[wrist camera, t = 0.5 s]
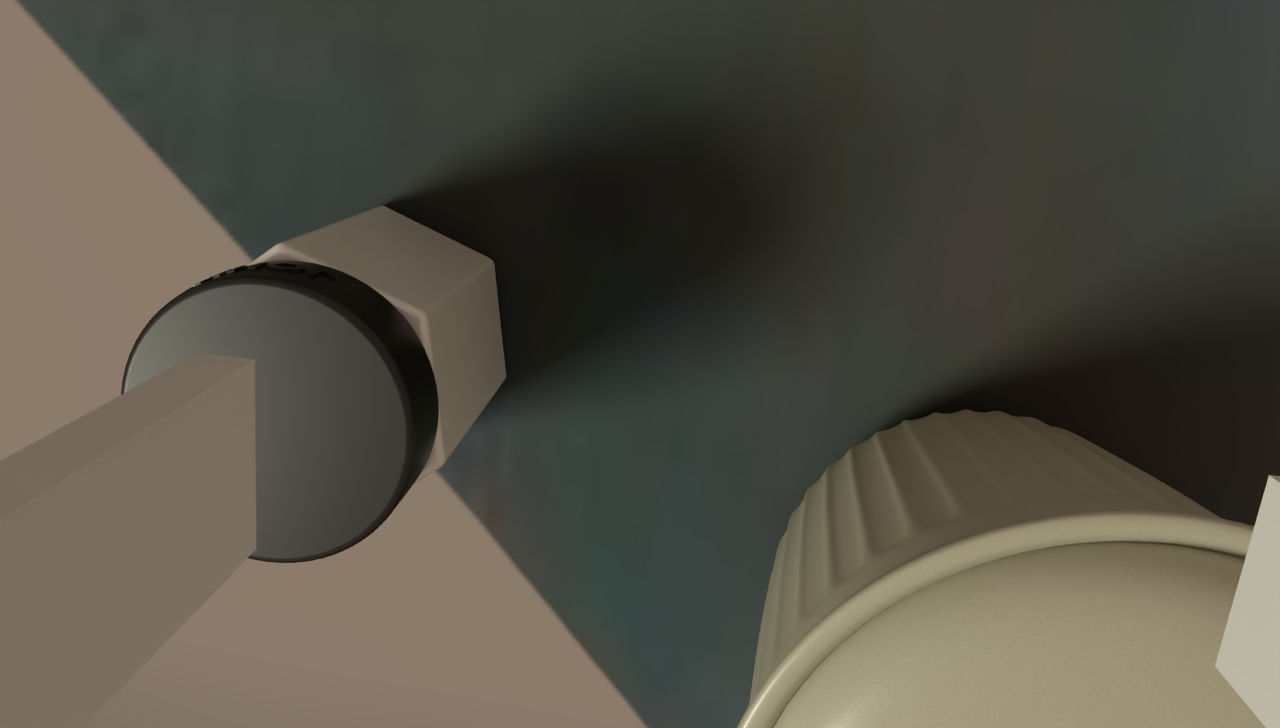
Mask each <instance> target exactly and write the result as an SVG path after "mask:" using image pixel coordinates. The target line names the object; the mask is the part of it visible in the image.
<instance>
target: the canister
mask: <svg viewBox="0 0 1280 728" xmlns="http://www.w3.org/2000/svg"><path fill="white" fill-rule="evenodd" d="M1253 530H1254V526H1251V525H1247V524H1243V523H1239V522H1235V521H1230V520H1226V519H1222V518H1220V517H1219V516H1217V515H1215V514H1214V513H1212V512H1210V511H1209V510H1207V509H1206V508H1204V507H1202V506H1201V505H1199V504H1197V503H1196V502H1194V501H1193V500H1191V499H1189V498H1188V497H1186V496H1185V495H1183V494H1181V493H1180V492H1178V491H1176V490H1175V489H1173V488H1171V487H1170V486H1168V485H1166V484H1164V483H1163V482H1161V481H1159V480H1158V479H1156V478H1154V477H1153V476H1151V475H1149V474H1147V473H1146V472H1144V471H1142V470H1140V469H1138V468H1137V467H1135V466H1133V465H1131V464H1129V463H1127V462H1126V461H1124V460H1122V459H1120V458H1118V457H1117V456H1115V455H1113V454H1111V453H1109V452H1108V451H1106V450H1104V449H1102V448H1100V447H1098V446H1097V445H1095V444H1093V443H1091V442H1089V441H1087V440H1086V439H1084V438H1082V437H1080V436H1078V435H1076V434H1074V433H1072V432H1070V431H1068V430H1066V429H1062V428H1059V427H1051V426H1049V425H1047V424H1045V423H1043V422H1042V421H1040V420H1037V419H1035V418H1032V417H1016V416H1011V415H1009V414H1007V413H1004V412H1001V411H991V412H974V411H971V410H967V409H966V410H961V411H959V412H955V413H949V414H941V413H932V414H930V415H929V416H926V417H923V418H919V419H915V420H904V421H902V422H901V423H900V424H899V425H897V426H895V427H893V428H890V429H887V430H884V431H877V432H876V433H875V434H874V435H873V436H872V437H870V438H869V439H867V440H866V441H864V442H862V443H860V444H858V445H856V446H852V447H851V448H850V449H849V450H848V452H847V453H846V454H845V455H844V456H843V457H842V458H841V459H839V460H838V461H836V462H835V463H832V464H830V465H829V466H828V467H827V468H826V470H825V472H824V474H823V475H822V476H821V478H820V479H819V480H818V481H817V482H816V483H814V484H812V485H811V486H810V487H809V488H808V489H807V492H806V494H805V498H804V500H803V501H802V503H801V504H800V506H798V507H797V508H796V509H795V510H794V511H793V513H792V515H791V517H790V520H789V524H788V529H787V531H786V533H785V534H784V535H783V537H782V538H781V541H780V543H779V546H778V549H777V553H776V558H775V563H774V568H773V571H772V574H771V578H770V583H769V587H768V592H767V597H766V602H765V607H764V612H763V618H762V623H761V628H760V635H759V641H758V647H757V654H756V661H755V668H754V675H753V683H752V690H751V696H750V703H749V707H748V708H747V710H746V712H745V714H744V715H743V717H742V719H741V721H740V723H739V725H738V727H737V728H1266V727H1265V726H1264V725H1263V724H1262V722H1261V721H1260V720H1259V719H1258V718H1257V716H1256V715H1255V714H1254V713H1253V712H1252V710H1251V709H1250V708H1249V707H1248V705H1247V704H1246V703H1245V702H1244V701H1243V699H1242V698H1241V697H1240V696H1239V695H1238V693H1237V692H1236V691H1235V690H1234V689H1233V687H1232V686H1231V685H1230V684H1229V683H1228V681H1227V680H1226V679H1225V678H1224V676H1223V675H1222V674H1221V673H1220V672H1219V670H1218V669H1217V668H1216V667H1215V664H1216V660H1217V657H1218V653H1219V650H1220V646H1221V643H1222V639H1223V635H1224V632H1225V628H1226V625H1227V621H1228V618H1229V614H1230V611H1231V607H1232V604H1233V600H1234V597H1235V593H1236V590H1237V586H1238V583H1239V579H1240V576H1241V572H1242V568H1243V565H1244V561H1245V558H1246V554H1247V551H1248V547H1249V544H1250V540H1251V537H1252V533H1253Z"/></svg>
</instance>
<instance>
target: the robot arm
mask: <svg viewBox="0 0 1280 728" xmlns="http://www.w3.org/2000/svg"><path fill="white" fill-rule="evenodd" d="M255 550H256V452H255V359H247V358H238V357H229V356H220V355H212V354H203V353H197V354H195V355H194V356H192V357H190V358H188V359H186V360H184V361H183V362H181V363H179V364H177V365H175V366H173V367H172V368H170V369H168V370H166V371H164V372H162V373H161V374H159V375H157V376H155V377H153V378H151V379H150V380H148V381H146V382H144V383H142V384H140V385H139V386H137V387H135V388H133V389H131V390H130V391H128V392H126V393H124V394H122V395H121V396H119V397H117V398H115V399H113V400H111V401H109V402H108V403H106V404H104V405H102V406H100V407H98V408H97V409H95V410H93V411H91V412H89V413H87V414H86V415H84V416H82V417H80V418H79V419H76V420H75V421H73V422H71V423H69V424H67V425H65V426H64V427H62V428H60V429H58V430H56V431H55V432H53V433H51V434H49V435H47V436H45V437H44V438H42V439H40V440H38V441H36V442H34V443H33V444H31V445H29V446H27V447H25V448H24V449H22V450H20V451H18V452H16V453H14V454H13V455H11V456H9V457H7V458H5V459H3V460H1V461H0V728H84V727H85V726H86V725H87V724H88V723H89V722H90V720H92V719H93V718H94V717H95V716H96V715H97V714H98V713H99V712H100V710H101V709H102V708H103V707H104V706H105V705H106V704H107V703H108V702H109V701H110V700H111V699H112V698H113V697H114V696H115V695H116V694H117V693H118V692H119V691H120V690H121V689H122V688H123V687H124V686H125V685H126V683H127V682H128V681H129V680H130V679H131V678H132V677H133V676H134V675H135V674H136V673H137V672H138V671H139V670H140V669H141V668H142V667H143V666H144V665H145V664H146V663H147V662H148V661H149V660H150V659H151V658H152V657H153V655H154V654H155V653H156V652H157V651H158V650H159V649H160V648H161V647H162V646H163V645H164V644H165V643H166V642H167V641H168V640H169V639H170V638H171V637H172V635H174V634H175V633H176V632H177V631H178V629H180V627H181V626H182V625H183V624H184V623H185V622H186V621H187V620H188V619H189V618H190V617H191V616H192V615H193V614H194V613H195V612H196V611H197V610H198V609H199V608H200V607H201V606H202V604H204V602H205V601H206V600H207V599H208V598H209V597H210V596H211V595H212V594H213V593H214V592H215V591H216V590H217V589H218V588H219V587H220V586H221V585H222V584H223V583H224V582H225V581H226V580H227V579H228V578H229V577H230V576H231V575H232V573H233V572H234V571H235V570H236V569H237V568H238V567H239V566H240V565H241V564H242V563H243V562H244V561H245V560H246V559H247V558H248V557H249V556H250V555H251V554H252V553H253V552H254V551H255ZM1215 667H1216V668H1217V669H1218V670H1219V672H1220V673H1221V674H1222V675H1223V676H1224V678H1225V679H1226V680H1227V681H1228V683H1229V684H1230V685H1231V686H1232V687H1233V689H1234V690H1235V691H1236V692H1237V693H1238V695H1239V696H1240V697H1241V698H1242V699H1243V701H1244V702H1245V703H1246V704H1247V705H1248V707H1249V708H1250V709H1251V710H1252V712H1253V713H1254V714H1255V715H1256V716H1257V718H1258V719H1259V720H1260V721H1261V722H1262V724H1263V725H1264V726H1265V727H1266V728H1280V476H1273V475H1269V477H1268V480H1267V484H1266V487H1265V491H1264V494H1263V498H1262V502H1261V505H1260V509H1259V512H1258V516H1257V519H1256V523H1255V526H1254V530H1253V533H1252V537H1251V540H1250V544H1249V547H1248V551H1247V554H1246V558H1245V561H1244V565H1243V568H1242V572H1241V576H1240V579H1239V583H1238V586H1237V590H1236V593H1235V597H1234V600H1233V604H1232V607H1231V611H1230V614H1229V618H1228V621H1227V625H1226V628H1225V632H1224V635H1223V639H1222V643H1221V646H1220V650H1219V653H1218V657H1217V660H1216V664H1215Z"/></svg>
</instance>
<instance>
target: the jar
mask: <svg viewBox="0 0 1280 728" xmlns="http://www.w3.org/2000/svg"><path fill="white" fill-rule="evenodd" d="M197 353H203V354H212V355H220V356H229V357H238V358H247V359H255V452H256V550H255V551H254V552H253V553H252V554H251V555H250V556H249V557H248V558H250V559H254V560H260V561H266V562H276V563H296V562H306V561H312V560H317V559H322V558H325V557H328V556H331V555H334V554H336V553H339V552H341V551H344V550H346V549H348V548H350V547H352V546H354V545H355V544H357V543H359V542H360V541H362V540H363V539H365V538H366V537H368V536H369V535H370V534H371V533H373V532H374V531H375V530H376V529H377V528H378V527H379V526H380V525H381V524H382V523H383V522H384V521H385V520H386V519H387V518H388V517H389V515H390V514H391V513H392V512H393V510H394V509H395V508H396V506H397V505H398V504H399V502H400V501H401V500H402V499H403V497H404V496H405V495H406V493H407V492H408V491H409V489H410V488H411V487H412V485H413V484H415V483H416V482H418V481H420V480H421V479H423V478H424V477H426V476H428V475H429V474H431V473H432V472H434V471H436V470H437V469H439V468H440V467H442V466H443V465H444V464H445V462H446V461H447V459H448V458H449V457H450V455H451V454H452V453H453V451H454V450H455V448H456V447H457V446H458V444H459V443H460V441H461V440H462V439H463V437H464V436H465V434H466V433H467V432H468V430H469V429H470V428H471V426H472V425H473V423H474V422H475V421H476V419H477V418H478V416H479V415H480V414H481V412H482V411H483V410H484V408H485V407H486V405H487V404H488V403H489V401H490V400H491V398H492V397H493V396H494V394H495V393H496V392H497V390H498V389H499V387H500V386H501V385H502V383H503V382H504V380H505V379H506V369H505V360H504V350H503V341H502V332H501V322H500V313H499V303H498V294H497V284H496V275H495V265H494V262H493V260H492V259H490V258H489V257H487V256H484V255H482V254H480V253H478V252H476V251H474V250H472V249H470V248H468V247H466V246H464V245H462V244H460V243H458V242H456V241H454V240H452V239H450V238H448V237H446V236H444V235H442V234H440V233H438V232H436V231H434V230H432V229H430V228H428V227H426V226H424V225H422V224H420V223H418V222H416V221H414V220H412V219H410V218H408V217H406V216H403V215H401V214H399V213H397V212H395V211H393V210H391V209H389V208H387V207H385V206H378V207H375V208H373V209H370V210H367V211H365V212H362V213H359V214H357V215H354V216H351V217H348V218H346V219H343V220H340V221H338V222H335V223H332V224H329V225H327V226H324V227H321V228H319V229H316V230H313V231H311V232H308V233H305V234H302V235H300V236H297V237H294V238H292V239H289V240H286V241H283V242H281V243H278V244H276V245H275V246H274V247H272V248H271V249H269V250H268V251H267V252H265V253H264V254H262V255H261V256H260V257H258V258H257V259H256V260H254V261H253V262H251V263H250V264H249V265H248V266H246V265H244V266H240V267H237V268H234V269H230V270H227V271H225V272H222V273H220V274H217V275H214V276H212V277H210V278H209V279H206V280H204V281H201V282H199V283H197V284H195V287H192V288H190V289H188V290H186V291H185V292H183V293H182V294H180V295H178V296H177V297H176V298H174V299H173V300H171V301H170V302H169V303H167V304H166V305H165V306H164V307H163V308H162V309H160V310H159V311H158V313H156V314H155V316H154V317H153V318H152V319H151V320H150V321H149V322H148V324H147V325H146V326H145V328H144V329H143V330H142V332H141V333H140V335H139V337H138V339H137V340H136V342H135V344H134V346H133V348H132V350H131V353H130V355H129V358H128V361H127V364H126V367H125V372H124V377H123V381H122V390H121V395H122V394H124V393H126V392H128V391H130V390H131V389H133V388H135V387H137V386H139V385H140V384H142V383H144V382H146V381H148V380H150V379H151V378H153V377H155V376H157V375H159V374H161V373H162V372H164V371H166V370H168V369H170V368H172V367H173V366H175V365H177V364H179V363H181V362H183V361H184V360H186V359H188V358H190V357H192V356H194V355H195V354H197Z"/></svg>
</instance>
